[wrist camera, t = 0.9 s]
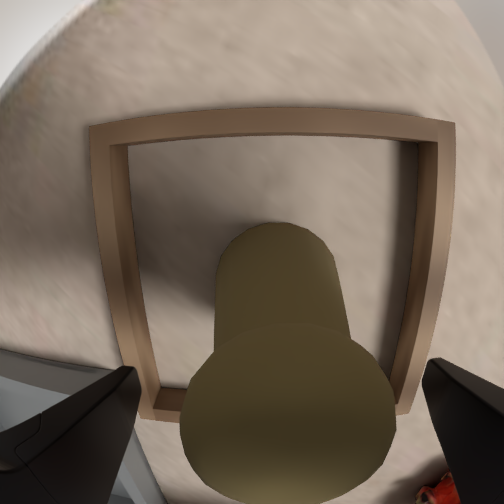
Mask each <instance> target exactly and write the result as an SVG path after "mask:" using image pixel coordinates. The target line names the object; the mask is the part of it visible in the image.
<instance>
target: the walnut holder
mask: <svg viewBox="0 0 504 504" xmlns="http://www.w3.org/2000/svg"><path fill="white" fill-rule="evenodd" d="M275 135H300V136H339V137H359V138H374V139H387V140H398V141H408V142H418V190H417V209H416V223H415V235H414V245H413V254H412V263H411V270H410V278H409V285H408V291H407V298H406V304H405V310H404V315H403V321H402V326H401V331H400V336H399V341H398V345H397V350H396V354H395V359H394V363H393V367H392V371H391V375H390V379H389V383H390V385H391V387H392V389H393V391H394V401H395V413H396V415H402V414H408V413H409V411H410V409H411V406H412V403H413V400H414V397H415V394H416V391H417V388H418V385H419V382H420V379H421V376H422V373H423V369H424V366H425V362H426V359H427V355H428V352H429V348H430V344H431V340H432V336H433V332H434V328H435V324H436V320H437V315H438V311H439V306H440V301H441V296H442V291H443V285H444V280H445V274H446V268H447V261H448V254H449V247H450V238H451V230H452V219H453V208H454V193H455V168H456V134H455V123H454V122H449V121H443V120H437V119H431V118H424V117H417V116H410V115H402V114H394V113H384V112H374V111H363V110H349V109H331V108H301V107H266V108H235V109H217V110H203V111H192V112H181V113H172V114H163V115H155V116H147V117H140V118H134V119H127V120H121V121H115V122H109V123H104V124H98V125H93V126H89V140H90V162H91V178H92V190H93V201H94V211H95V220H96V228H97V235H98V243H99V249H100V256H101V262H102V268H103V274H104V280H105V285H106V290H107V295H108V300H109V305H110V310H111V315H112V319H113V323H114V328H115V332H116V336H117V340H118V344H119V348H120V352H121V356H122V359H123V363H124V365H126V366H134V367H135V368H136V369H137V372H138V376H139V379H140V383H141V387H142V394H141V398H140V402H139V407H138V412H139V415H140V418H141V419H149V420H156V421H165V422H174V423H180V422H179V417H180V413H181V410H182V406H183V402H184V399H185V395H186V392H187V390H184V389H171V388H161V385H160V380H159V376H158V372H157V367H156V363H155V358H154V353H153V349H152V344H151V339H150V334H149V329H148V323H147V318H146V312H145V306H144V300H143V294H142V288H141V282H140V275H139V268H138V260H137V253H136V245H135V236H134V227H133V218H132V207H131V195H130V182H129V166H128V146H130V145H138V144H146V143H155V142H165V141H175V140H187V139H200V138H216V137H236V136H275Z"/></svg>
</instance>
